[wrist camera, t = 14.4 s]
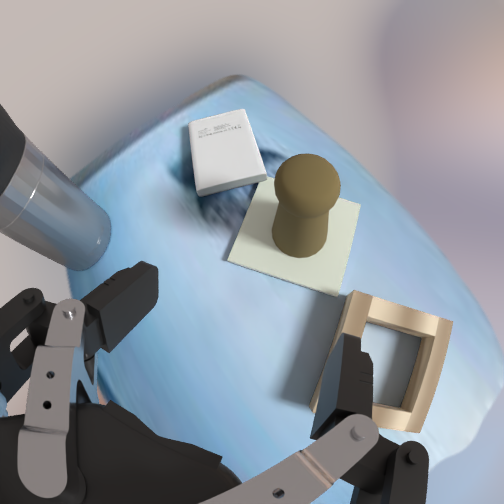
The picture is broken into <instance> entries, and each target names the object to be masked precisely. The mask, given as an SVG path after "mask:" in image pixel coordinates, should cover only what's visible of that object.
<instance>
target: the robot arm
mask: <svg viewBox="0 0 504 504" xmlns="http://www.w3.org/2000/svg"><path fill="white" fill-rule="evenodd" d="M0 232H1V233H2V234H4V235H6V236H8V237H10V238H12V239H13V240H15V241H17V242H19V243H21V244H22V245H24V246H26V247H28V248H30V249H32V250H34V251H36V252H38V253H39V254H42V255H43V256H46V257H47V258H49V259H51V260H53V261H55V262H57V263H59V264H61V265H64V266H65V267H68V268H70V269H72V270H76V271H81V270H85V269H88V268H89V267H91V266H93V265H94V264H95V263H96V262H97V261H98V260H99V259H100V258H101V256H102V255H103V253H104V252H105V250H106V248H107V245H108V243H109V240H110V235H111V223H110V219H109V217H108V215H107V213H106V212H105V211H104V210H103V209H102V208H101V207H100V206H98V205H97V204H96V203H95V202H94V201H93V200H92V199H91V198H90V197H89V196H87V195H86V194H85V193H84V192H83V191H82V190H81V189H80V188H79V187H78V186H77V185H76V184H74V183H73V182H72V181H71V180H70V179H69V178H68V177H67V176H66V175H65V174H64V173H63V172H62V171H61V170H59V168H57V166H55V165H54V164H53V163H52V162H51V161H50V160H49V159H48V158H47V157H46V156H45V155H44V154H43V153H42V152H41V151H40V150H39V149H38V148H37V147H36V146H35V145H34V144H33V143H32V142H31V141H30V140H29V139H28V138H27V137H26V136H25V135H24V133H23V132H22V131H21V130H20V129H19V128H18V127H17V126H16V125H15V123H14V122H13V121H12V119H11V118H10V116H9V115H8V113H7V112H6V111H5V109H4V108H3V107H2V106H1V104H0ZM157 300H158V268H157V267H156V266H154V265H151V264H149V263H146V262H144V261H140V262H138V263H137V264H136V265H134V266H133V267H132V268H126V269H123V270H120V271H118V272H116V273H115V274H114V275H112V276H111V277H110V279H109V278H108V279H107V280H106V281H104V283H103V284H100V285H99V286H98V287H97V288H95V289H94V290H93V291H91V292H90V293H89V294H88V295H86V296H85V297H84V298H82V299H81V300H80V301H79V300H77V299H66V300H63V301H61V302H60V303H58V304H55V303H51V302H48V301H45V300H44V297H43V294H42V292H41V290H39V289H36V288H28V289H25V290H23V291H22V292H21V293H19V294H18V295H17V296H15V297H14V298H13V299H11V300H10V301H9V302H8V303H6V304H5V305H4V306H3V307H2V308H0V504H310V503H311V502H312V501H314V500H315V499H316V498H318V497H319V496H320V495H322V494H323V493H324V492H325V491H327V490H328V489H329V488H330V487H331V486H332V485H333V483H334V482H335V481H336V480H337V479H339V478H340V479H342V480H344V481H346V482H348V483H350V484H352V485H354V490H353V494H352V498H351V501H350V504H425V502H426V493H427V483H428V468H429V456H428V453H427V450H426V449H425V447H424V446H423V445H422V444H420V443H418V442H415V441H407V442H405V443H403V444H402V445H398V444H396V443H394V442H392V441H390V440H388V439H386V438H384V437H383V436H381V435H380V434H379V430H378V427H377V425H376V424H375V422H374V421H373V420H372V408H373V363H372V360H371V358H370V356H369V354H368V353H365V352H362V351H361V338H360V337H357V336H354V335H350V334H347V333H342V334H341V335H340V337H339V339H338V341H337V343H336V345H335V347H334V348H333V350H332V352H331V354H330V356H329V358H328V360H327V362H326V365H325V368H324V372H323V377H322V383H321V388H320V393H319V398H318V403H317V408H316V413H315V418H314V422H313V427H312V431H311V435H310V439H314V440H317V441H315V442H314V443H312V444H311V445H309V446H308V447H307V448H305V449H303V450H300V451H298V452H296V453H294V454H292V455H291V456H289V457H288V458H286V459H285V460H283V461H281V462H280V463H278V464H276V465H275V466H273V467H271V468H270V469H268V470H266V471H264V472H263V473H261V474H259V475H257V476H255V477H254V478H252V479H250V480H248V481H246V482H244V483H242V482H241V481H240V480H239V478H238V477H237V476H236V475H235V474H234V473H233V472H232V471H231V470H230V469H229V468H227V467H226V466H225V465H223V464H222V463H221V460H222V456H220V455H217V454H215V453H212V452H210V451H207V450H205V449H202V448H200V447H198V446H195V445H193V444H189V443H185V442H180V441H176V440H171V439H167V438H163V437H160V436H158V435H156V434H155V433H154V432H153V431H152V430H151V429H149V428H148V427H147V426H146V425H145V424H144V423H143V422H142V421H141V420H140V419H138V418H137V417H136V416H135V415H134V414H132V413H131V412H129V411H127V410H126V409H124V408H122V407H121V406H119V405H118V404H116V403H114V402H113V401H111V400H110V401H109V402H108V404H107V405H101V404H99V399H98V395H97V359H98V355H97V351H98V350H99V349H100V348H102V349H103V350H105V351H107V352H108V353H110V352H111V351H112V350H113V349H114V348H115V347H116V346H117V345H118V344H119V343H120V341H121V340H122V339H123V338H124V337H125V336H126V335H127V334H128V333H129V332H130V331H131V330H132V329H133V328H134V327H135V326H136V325H137V324H138V323H139V322H140V321H141V320H142V319H143V318H144V317H145V316H146V315H147V314H148V313H149V312H150V311H151V310H152V309H153V308H154V306H155V305H156V303H157ZM25 328H26V330H27V332H28V334H29V335H28V336H27V337H26V338H25V339H24V340H23V341H22V342H21V343H20V344H19V345H18V346H17V347H16V348H15V349H14V350H13V351H12V352H10V344H11V342H12V340H13V339H15V338H16V337H17V336H18V335H19V334H20V333H21V332H22V331H23V330H24V329H25ZM29 378H30V383H29V389H28V396H27V404H26V412H25V414H21V415H14V416H8V412H7V410H6V406H7V403H8V402H9V400H10V399H11V398H12V397H13V396H14V395H15V394H16V392H17V391H18V390H19V389H20V388H21V387H22V386H23V384H24V383H25V382H26V381H27V380H28V379H29Z"/></svg>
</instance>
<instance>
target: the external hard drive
mask: <svg viewBox="0 0 504 504" xmlns="http://www.w3.org/2000/svg"><path fill="white" fill-rule="evenodd" d="M188 126H189V135H190V145H191V153H192V161H193V169H194V177H195V185H196V191H197V193H198V195H199V196H200V197H201V196H206V195H210V194H214V193H218V192H222V191H226V190H230V189H234V188H238V187H242V186H246V185H250V184H254V183H259V182H263V181H265V180H267V173H266V170H265V167H264V164H263V161H262V158H261V155H260V152H259V149H258V146H257V143H256V140H255V137H254V134H253V132H252V129H251V126H250V123H249V120H248V117H247V115H246V112H245V109H239V110H235V111H230V112H226V113H222V114H218V115H214V116H210V117H206V118H203V119H199V120H195V121H192V122H190V123H188Z"/></svg>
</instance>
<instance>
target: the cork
mask: <svg viewBox="0 0 504 504" xmlns="http://www.w3.org/2000/svg"><path fill="white" fill-rule="evenodd" d="M340 186H341V185H340V180H339V176H338V173H337V171H336V170H335V168H334V167H333V166H332V165H331V164H330V163H329V162H328V161H327V160H326V159H324V158H322V157H320V156H318V155H313V154H298V155H295V156H292V157H290V158H289V159H287V160H286V161H285V162H283V163H282V164H281V166H280V167H279V169H278V170H277V172H276V176H275V180H274V188H275V195H276V197H277V199H278V201H279V203H278V207H277V211H276V215H275V218H274V222H273V226H272V238H273V240H274V242H275V244H276V246H277V247H278V248H279V249H280V250H281V251H282V252H283V253H285V254H287V255H288V256H291V257H295V258H306V257H310V256H312V255H314V254H316V253H317V252H319V251H320V250H321V249H322V248H323V246H324V244H325V242H326V239H327V233H328V220H329V210H330V209H331V208H332V207H334V205H335V203H336V201H337V199H338V197H339V195H340Z"/></svg>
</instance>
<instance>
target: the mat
mask: <svg viewBox="0 0 504 504" xmlns="http://www.w3.org/2000/svg"><path fill="white" fill-rule="evenodd" d="M274 180H275V179H274V178H270V177H267V180H265V181H263V182H259V184H258V187H257V189H256V192H255V194H254V196H253V199H252V201H251V204H250V206H249V208H248V211H247V213H246V216H245V218H244V220H243V223H242V225H241V228H240V230H239V233H238V235H237V237H236V240H235V242H234V245H233V247H232V250H231V252H230V255H229V257H228V262H231V263H234V264H237V265H240V266H243V267H246V268H248V269H251V270H254V271H257V272H260V273H263V274H266V275H270V276H273V277H276V278H279V279H282V280H285V281H288V282H291V283H294V284H297V285H300V286H303V287H306V288H309V289H312V290H315V291H318V292H322V293H325V294H328V295H331V296H334V297H338V294H339V290H340V287H341V283H342V280H343V276H344V272H345V269H346V265H347V261H348V257H349V253H350V249H351V245H352V241H353V237H354V233H355V228H356V224H357V220H358V215H359V210H360V206H361V205H360V204H357V203H354V202H351V201H348V200H345V199H342V198H339V197H338V199H337V201H336V203H335V205H334V207H332V208H331V209H330V210H329V220H328V233H327V239H326V242H325V244H324V246H323V248H322V249H321V250H320V251H319V252H317V253H316V254H314V255H312V256H310V257H306V258H295V257H291V256H288V255H287V254H285V253H283V252H282V251H281V250H280V249H279V248H278V247H277V246H276V244H275V242H274V240H273V238H272V226H273V222H274V218H275V215H276V211H277V207H278V203H279V201H278V199H277V197H276V195H275V188H274Z"/></svg>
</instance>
